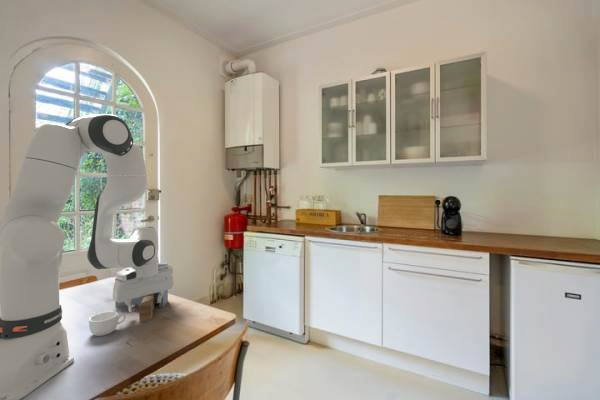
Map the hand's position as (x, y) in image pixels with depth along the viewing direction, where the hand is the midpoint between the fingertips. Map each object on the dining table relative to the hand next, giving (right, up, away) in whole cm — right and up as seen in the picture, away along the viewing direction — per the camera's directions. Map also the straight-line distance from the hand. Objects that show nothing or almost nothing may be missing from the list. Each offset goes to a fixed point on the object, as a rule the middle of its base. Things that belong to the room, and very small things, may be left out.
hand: (145, 306), depth 105 cm
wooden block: (+1, -3, +1) cm, 3 cm away
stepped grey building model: (-6, -3, +8) cm, 10 cm away
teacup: (-5, -3, -13) cm, 14 cm away
